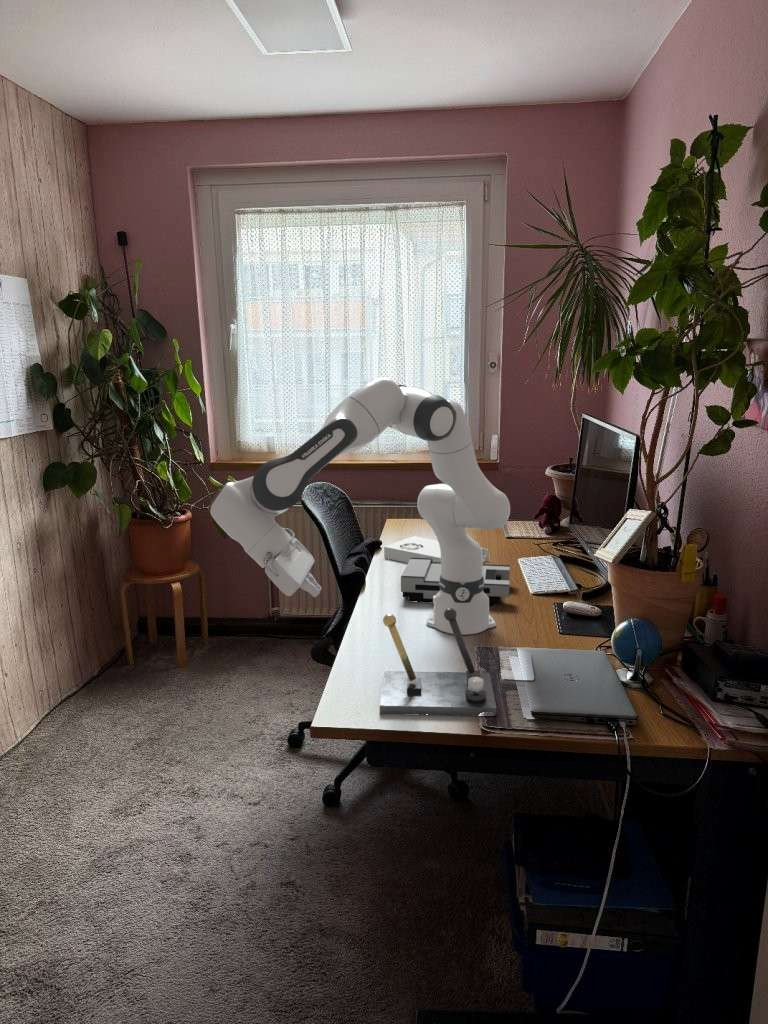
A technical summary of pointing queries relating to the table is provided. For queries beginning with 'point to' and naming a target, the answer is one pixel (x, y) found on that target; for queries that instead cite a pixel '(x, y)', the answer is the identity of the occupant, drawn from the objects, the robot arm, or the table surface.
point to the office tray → (425, 576)
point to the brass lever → (399, 645)
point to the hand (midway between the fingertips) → (318, 593)
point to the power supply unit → (417, 550)
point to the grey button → (475, 684)
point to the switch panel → (435, 694)
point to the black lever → (459, 638)
